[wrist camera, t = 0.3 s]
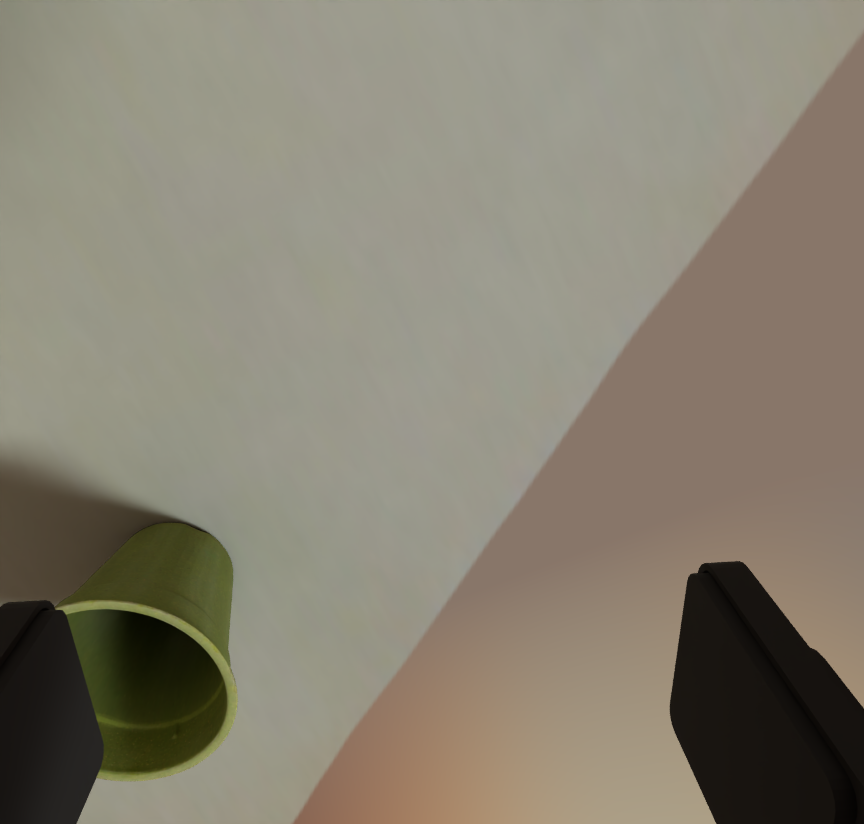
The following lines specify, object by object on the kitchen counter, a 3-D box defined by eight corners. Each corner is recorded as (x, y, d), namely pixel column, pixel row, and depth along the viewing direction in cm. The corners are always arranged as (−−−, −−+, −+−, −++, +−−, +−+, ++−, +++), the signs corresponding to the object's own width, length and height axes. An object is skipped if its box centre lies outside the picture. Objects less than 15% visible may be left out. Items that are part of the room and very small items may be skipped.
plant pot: (308, 570, 47) (285, 701, 37) (184, 665, 49) (130, 813, 39) (170, 450, 43) (100, 560, 33) (43, 560, 45) (-58, 695, 35)
